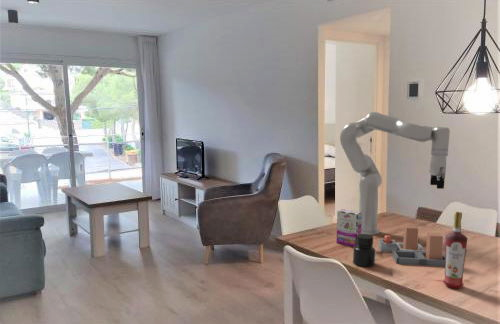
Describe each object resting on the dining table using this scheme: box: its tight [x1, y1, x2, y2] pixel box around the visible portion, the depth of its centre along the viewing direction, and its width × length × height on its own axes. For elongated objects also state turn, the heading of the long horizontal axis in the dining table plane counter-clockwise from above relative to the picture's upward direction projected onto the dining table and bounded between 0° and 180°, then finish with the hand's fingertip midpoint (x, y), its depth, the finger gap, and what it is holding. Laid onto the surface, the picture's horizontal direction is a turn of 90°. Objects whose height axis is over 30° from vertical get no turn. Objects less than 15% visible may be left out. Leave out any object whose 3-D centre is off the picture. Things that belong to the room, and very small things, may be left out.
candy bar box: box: [336, 209, 362, 248], centre depth 205 cm, size 11×5×16 cm, turn 47°
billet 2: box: [425, 231, 444, 260], centre depth 180 cm, size 5×5×12 cm
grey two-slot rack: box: [391, 250, 445, 267], centre depth 182 cm, size 21×10×3 cm, turn 82°
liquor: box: [442, 211, 469, 290], centre depth 156 cm, size 7×7×28 cm
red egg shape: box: [384, 234, 393, 243], centre depth 197 cm, size 3×3×4 cm
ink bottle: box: [352, 234, 376, 268], centre depth 180 cm, size 10×9×12 cm
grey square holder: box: [378, 238, 398, 254], centre depth 197 cm, size 7×7×4 cm
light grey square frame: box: [396, 242, 426, 252], centre depth 196 cm, size 11×11×2 cm
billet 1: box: [402, 224, 419, 250], centre depth 195 cm, size 5×5×12 cm
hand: (436, 186), depth 210 cm, fingers open, 9 cm apart
